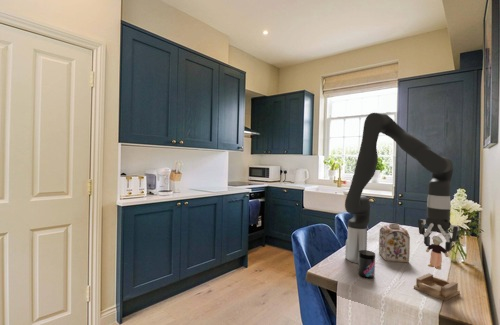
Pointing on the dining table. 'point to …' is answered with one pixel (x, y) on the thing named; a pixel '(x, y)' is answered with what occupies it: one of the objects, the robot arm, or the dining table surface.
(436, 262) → the grandmother figurine
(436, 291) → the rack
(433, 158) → the robot arm
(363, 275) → the supplement container
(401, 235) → the decorative jar
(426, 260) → the dining table surface
